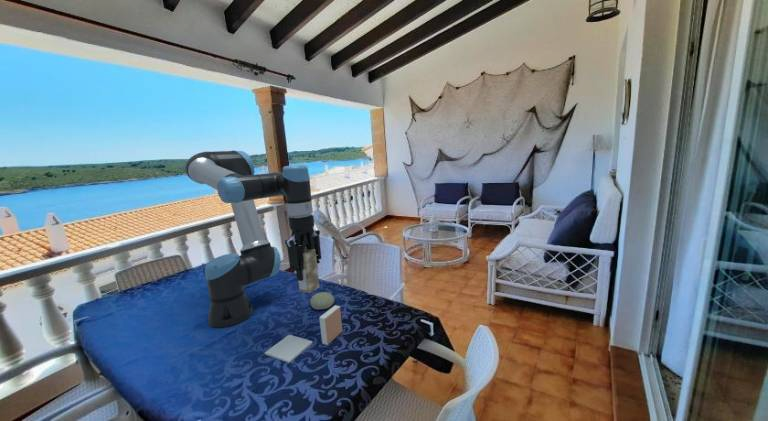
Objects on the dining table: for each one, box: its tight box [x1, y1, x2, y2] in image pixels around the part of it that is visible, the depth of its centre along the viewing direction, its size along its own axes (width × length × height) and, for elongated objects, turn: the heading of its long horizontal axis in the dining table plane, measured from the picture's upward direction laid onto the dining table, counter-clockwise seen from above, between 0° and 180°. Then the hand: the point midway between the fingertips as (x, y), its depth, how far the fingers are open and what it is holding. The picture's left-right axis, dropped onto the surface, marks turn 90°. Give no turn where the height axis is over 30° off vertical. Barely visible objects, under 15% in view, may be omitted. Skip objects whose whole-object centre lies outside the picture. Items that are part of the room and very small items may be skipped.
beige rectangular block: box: [297, 247, 320, 294], centre depth 96 cm, size 4×4×13 cm
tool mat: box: [264, 334, 314, 364], centre depth 92 cm, size 10×10×1 cm
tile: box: [319, 305, 343, 346], centre depth 95 cm, size 2×8×9 cm, turn 152°
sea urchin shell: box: [309, 291, 335, 311], centre depth 118 cm, size 9×8×8 cm
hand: (309, 285), depth 97 cm, fingers closed on beige rectangular block, 4 cm apart
